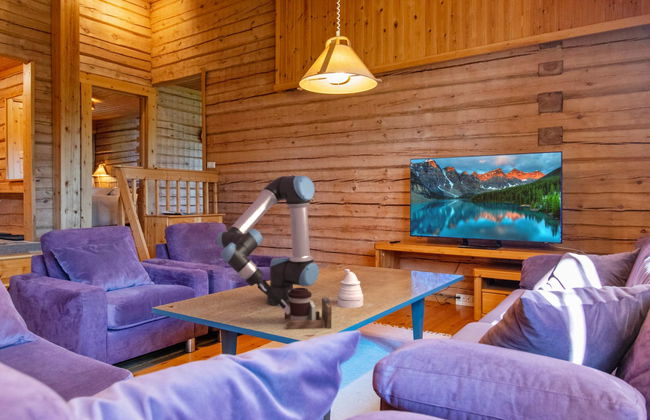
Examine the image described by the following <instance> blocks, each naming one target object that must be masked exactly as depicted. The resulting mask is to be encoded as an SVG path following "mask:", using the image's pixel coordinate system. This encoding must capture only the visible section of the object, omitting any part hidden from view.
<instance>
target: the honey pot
mask: <svg viewBox="0 0 650 420" xmlns="http://www.w3.org/2000/svg"><path fill="white" fill-rule="evenodd" d="M344 272H345V274H346V275H345V276H344V278H343V280H340V284H341V285H340V287H339V290H338V291H339V292H338V293H337V306H338V307H341V308H347V309H355V308H356V309H357V307H358V308H361V306H362V307H363V306H364V294H363V291H362V287H361V285H360V284H361V281H360V280H358V277H357V275H356V274H355V273H354V272H353V271H351V270H350V269H349V268H345V269H344Z"/></svg>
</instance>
